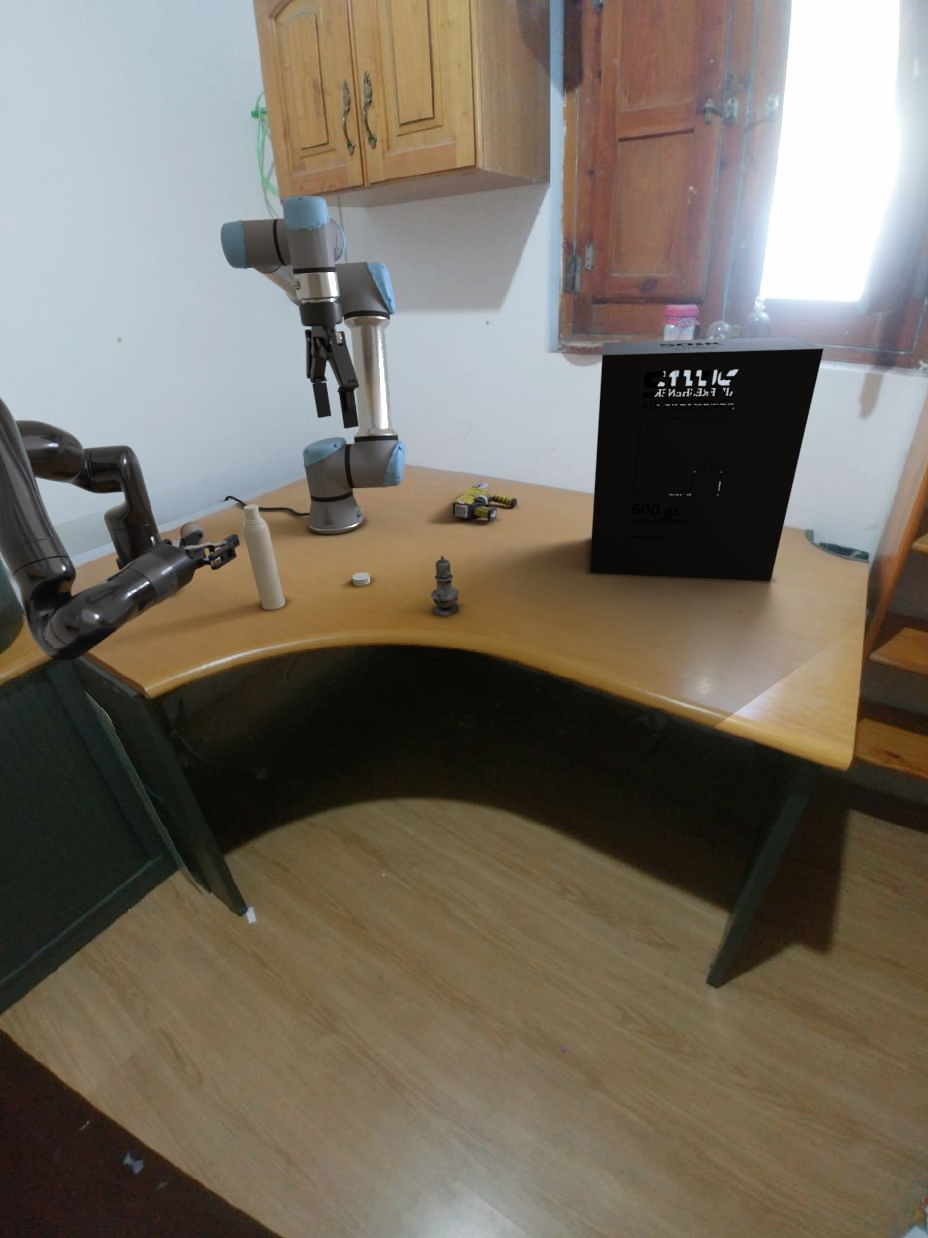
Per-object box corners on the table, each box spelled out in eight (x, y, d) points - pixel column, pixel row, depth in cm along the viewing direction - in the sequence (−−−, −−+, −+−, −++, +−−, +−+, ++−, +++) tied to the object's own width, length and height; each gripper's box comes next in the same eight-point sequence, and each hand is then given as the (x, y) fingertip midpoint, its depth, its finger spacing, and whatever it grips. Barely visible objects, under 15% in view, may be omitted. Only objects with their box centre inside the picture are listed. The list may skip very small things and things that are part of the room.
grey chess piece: (457, 617, 121) (453, 562, 115) (428, 615, 122) (423, 561, 116) (463, 603, 126) (459, 550, 120) (435, 601, 127) (431, 549, 121)
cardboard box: (751, 542, 144) (793, 336, 122) (770, 580, 127) (823, 348, 105) (591, 537, 152) (603, 342, 130) (589, 572, 135) (602, 354, 112)
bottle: (272, 612, 127) (248, 512, 116) (257, 606, 129) (232, 508, 118) (290, 602, 130) (268, 504, 119) (274, 597, 133) (252, 500, 122)
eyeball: (193, 549, 159) (187, 528, 156) (179, 545, 162) (172, 524, 159) (212, 541, 163) (206, 520, 160) (198, 538, 166) (191, 517, 163)
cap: (373, 581, 137) (372, 575, 136) (359, 587, 135) (358, 581, 134) (363, 576, 139) (363, 571, 139) (350, 582, 137) (349, 576, 137)
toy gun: (525, 486, 181) (478, 479, 184) (503, 510, 160) (450, 501, 164) (523, 501, 183) (477, 494, 187) (501, 526, 163) (450, 518, 167)
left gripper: (187, 557, 93) (245, 519, 106) (111, 552, 96) (177, 516, 110) (200, 600, 96) (255, 558, 110) (126, 593, 100) (189, 553, 113)
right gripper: (277, 301, 116) (297, 415, 127) (325, 302, 98) (345, 435, 108) (313, 299, 120) (331, 409, 130) (367, 299, 101) (382, 428, 112)
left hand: (216, 537), depth 110 cm, fingers open, 8 cm apart
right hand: (337, 421), depth 119 cm, fingers open, 13 cm apart
